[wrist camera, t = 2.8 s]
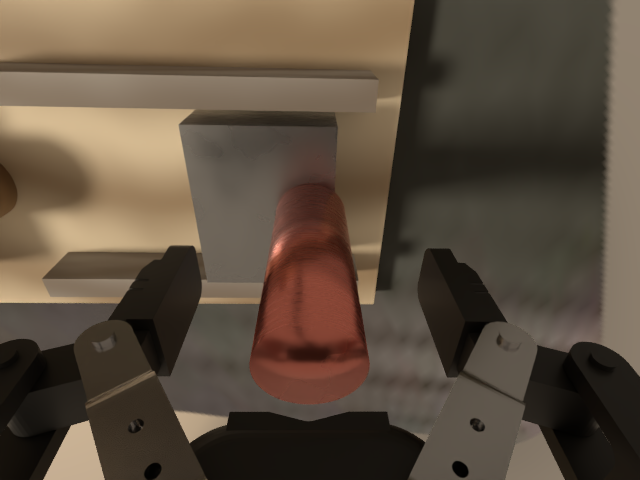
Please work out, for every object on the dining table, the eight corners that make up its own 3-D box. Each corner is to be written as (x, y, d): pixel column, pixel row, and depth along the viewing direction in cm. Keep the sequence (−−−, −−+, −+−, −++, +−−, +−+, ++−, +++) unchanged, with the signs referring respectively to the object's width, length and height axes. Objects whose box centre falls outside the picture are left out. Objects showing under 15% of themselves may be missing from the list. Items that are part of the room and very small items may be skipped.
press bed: (-290, -20, 15) (-627, -35, 9) (407, -1, 15) (457, -5, 10) (-70, 289, 23) (-181, 371, 18) (370, 291, 24) (387, 370, 19)
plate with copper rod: (199, 106, 16) (49, 238, 7) (344, 109, 16) (387, 241, 7) (220, 248, 20) (143, 450, 11) (336, 249, 21) (357, 448, 11)
